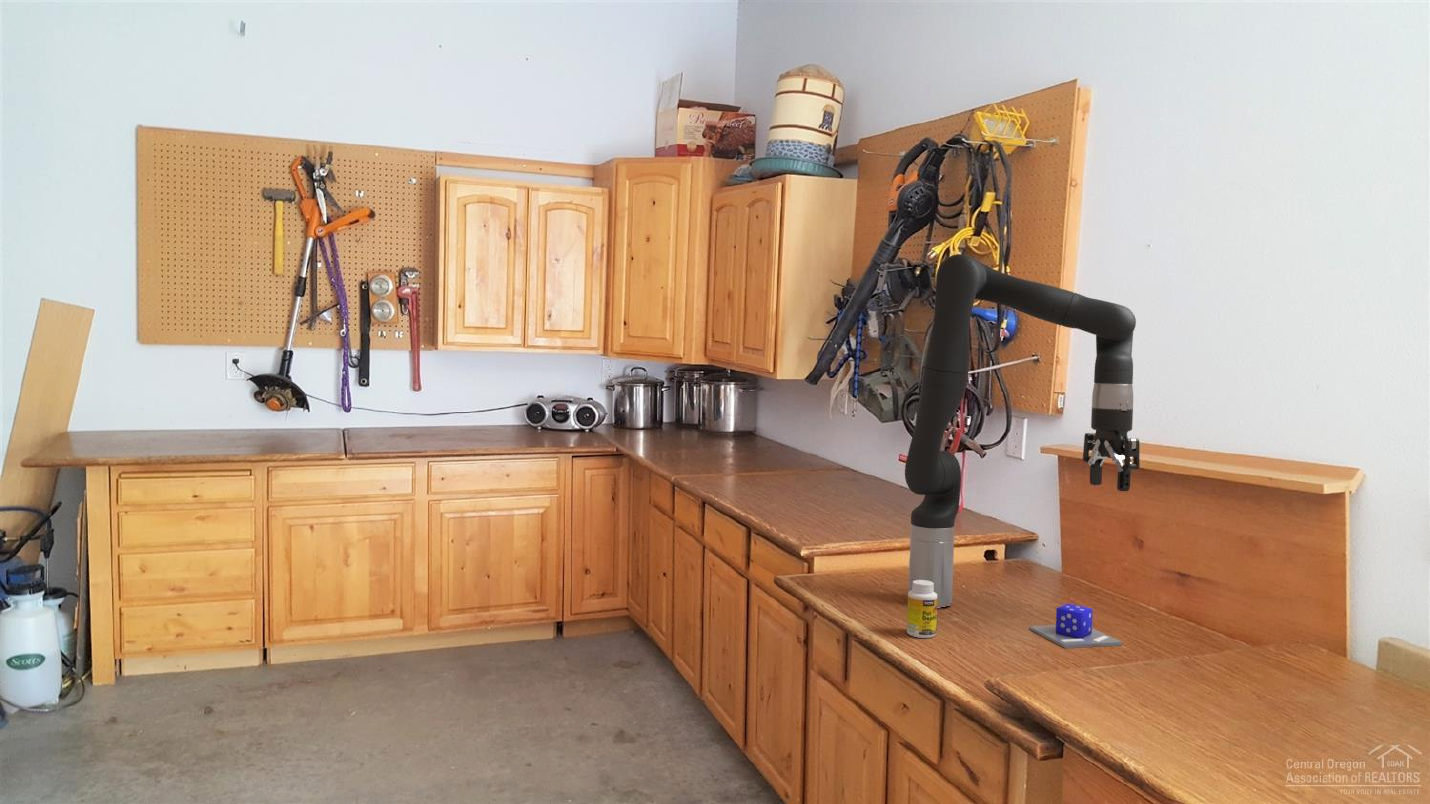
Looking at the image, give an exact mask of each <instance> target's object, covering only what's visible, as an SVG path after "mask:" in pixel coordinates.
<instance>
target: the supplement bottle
mask: <svg viewBox="0 0 1430 804" xmlns="http://www.w3.org/2000/svg"><path fill="white" fill-rule="evenodd" d="M933 589H934V583H933V582H931V581H927V580H915V581H913V584H912V590H911V591H909V590H908V593H907V611H906V614H907V615H906V632H907V634H908V635H909V636H910V637H915V638H918V639H919V638H920V639H931V638H933V637H934V638H935V636H936V634H937V620H938V619H937V616H938V614H937V613H938V608H937V594H936V593H935V592H933V591H934V590H933Z"/></svg>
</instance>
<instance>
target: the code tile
mask: <svg viewBox="0 0 1430 804" xmlns="http://www.w3.org/2000/svg"><path fill="white" fill-rule="evenodd" d="M1028 629H1029V630H1030V631H1032V632H1034V633H1035V634H1037V635H1039V636H1041V637H1042V638H1045V639H1047V640H1049V641H1051V642H1053V643H1054V644H1056V645H1059V647H1062V648H1064V649H1074V648H1075V649H1078V648H1093V647H1095V648H1096V647H1110V646H1111V647H1112V646H1113V647H1115V646H1123V641H1121V640H1120V639H1117V638H1115V637H1112V636H1111V635H1108V634H1106V633H1104V632H1102V631H1099V630H1098V629H1095V628H1094V627H1092V634H1090V635H1088V636H1086V637H1084V638H1082V639H1078V638H1074V637H1069V636H1065V635H1061V634H1057V633H1056V624H1053V625H1051V624H1050V625H1030V626H1028Z"/></svg>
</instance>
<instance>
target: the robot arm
mask: <svg viewBox="0 0 1430 804" xmlns="http://www.w3.org/2000/svg"><path fill="white" fill-rule="evenodd" d="M975 300H977V301H984V302H990V303H995V304H998V305H1002V306H1005V307H1008V308H1011V309H1013V310H1016V311H1018V312H1021V313H1023V314H1026V315H1028V316H1029V317H1030V316H1031V317H1034V318H1037V319H1038V320H1039V319H1040V320H1042V321H1045V322H1048V323H1052V324H1055V325H1058V326H1062V327H1065V328H1069V329H1077V330H1080V331H1083V332H1086V333H1089V334H1092V335H1095V345H1096V349H1095V350H1096V352H1095V353H1096V357H1095V362H1094V373H1093V375H1094V376H1093V388H1092V394H1091V395H1092V397H1091V414H1090V415H1091V419H1090V420H1091V421H1090V428H1091V429H1092V430H1094V431H1095V433H1093V432H1086V433H1085V434H1084V439H1083V449H1082V450H1083V453H1082V461H1083V463H1087V465H1088V466H1089V484H1090V485H1093V486H1101V485H1102V482H1103V481H1102V479H1103V466H1102V465H1103V464H1104V462H1105V461H1106V460H1107V459H1108V458H1109V459H1110V460H1111V461H1112V462H1113V463H1115V465H1116V467H1117V470H1118V471H1117V478H1116V479H1117V484H1116V489H1117V491H1119V492H1129V490H1130V487H1131V473H1132V472H1133V471H1135V470H1139V469H1140V439H1139V438H1128V437H1129V436H1128V432H1130V431H1131V432H1132V430H1133V421H1134V420H1133V419H1134V418H1133V417H1134V387H1133V383H1134V381H1133V379H1134V361H1133V357H1132V352H1133V339H1134V331H1135V328H1136V324H1137V320H1136V316H1135V314H1134V312H1133V311H1132V310H1131V309H1130V308H1128V307H1127V306H1124V305H1121V304H1118V303H1114V302H1110V301H1106V300H1102V299H1097V298H1091V297H1087V296H1085V295H1082V294H1080V293H1077V292H1074V291H1071V290H1067V289H1065V288H1060V287H1057V286H1054V285H1049V284H1046V283H1040V282H1037V281H1032V280H1028V279H1023V278H1019V277H1016V276H1012V275H1010V274H1007V273H1003V272H1001V271H999V270H996V269H995V268H993V267H990V266H988V265H986V264H984V263H982V262H980V261H979V260H978V259H977V258H975V257H974V256H971V255H967V254H961V253H958V254H957V253H956V254H952V255H949V256H948V257H946V259H944V260H943V261H942V262H941V263H940V264H939V266H938V268H937V272H936V275H935V301H934V315H933V316H934V317H933V322H932V323H933V324H932V328H931V331H930V337H929V340H928V344H927V350H926V355H925V360H924V366H923V372H922V380H921V386H920V396H919V402H918V407H917V411H916V412H917V413H916V419H915V424H914V429H913V433H912V436H911V437H912V438H911V441H910V444H909V447H908V453H907V456H906V461H905V465H904V479H905V482H906V485H907V487H908V489H909V490H910V491H911V492H912V493H914V494H915V495H920V496H923V495H924V497H923V500H922V501H921V502H920V504H919V505H918V506H917V507H914V509H912V511H911V514H910V539H909V540H910V543H909V561H908V563H909V565H908V566H909V567H908V592H909V591H911V590H912V584H913V581H915V580H927V581H931V582H933V583H934V589H933V590H934V591H933V592H935V593H936V594H937V607H943V606H947V605H950V604H951V603H952V604H953V586H954V585H953V582H954V554H955V553H954V551H955V547H954V546H955V522H956V517H957V515H958V513H959V510H960V509H959V508H960V498H961V485H962V469H961V464H960V461H959V460H958V459H957V457H956V456H955V454H953V453H951V452H950V451H947V450H941V446H942V442H943V438H944V437H943V436H944V434H945V432H946V429H947V427H948V425H949V424H950V421H951V420H952V419H953V417H954V415H955V413H956V412H957V411H958V409H959V407H960V405H961V404H962V402H963V399H964V397H965V393H966V389H967V383H968V379H969V372H970V371H969V370H970V361H971V360H970V355H971V353H970V352H971V351H970V348H971V347H970V346H971V345H970V322H971V317H972V313H973V312H972V311H973V308H974V303H975ZM1090 451H1091V452H1090ZM1131 460H1132V461H1131ZM1123 463H1124V464H1123Z"/></svg>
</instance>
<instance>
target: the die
mask: <svg viewBox="0 0 1430 804" xmlns="http://www.w3.org/2000/svg"><path fill="white" fill-rule="evenodd" d="M1093 612H1094V611H1093V608H1091V607H1086V606H1082V605H1077V604H1072V603H1066V604H1064V605H1061V606H1058V607H1056V612H1055V613H1056V616H1055V617H1056V618H1055V625H1056V633H1057V634H1061V635H1065V636H1069V637H1074V638H1078V639H1082V638H1084V637H1086V636H1088V635H1090V634H1092V628H1093Z"/></svg>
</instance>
